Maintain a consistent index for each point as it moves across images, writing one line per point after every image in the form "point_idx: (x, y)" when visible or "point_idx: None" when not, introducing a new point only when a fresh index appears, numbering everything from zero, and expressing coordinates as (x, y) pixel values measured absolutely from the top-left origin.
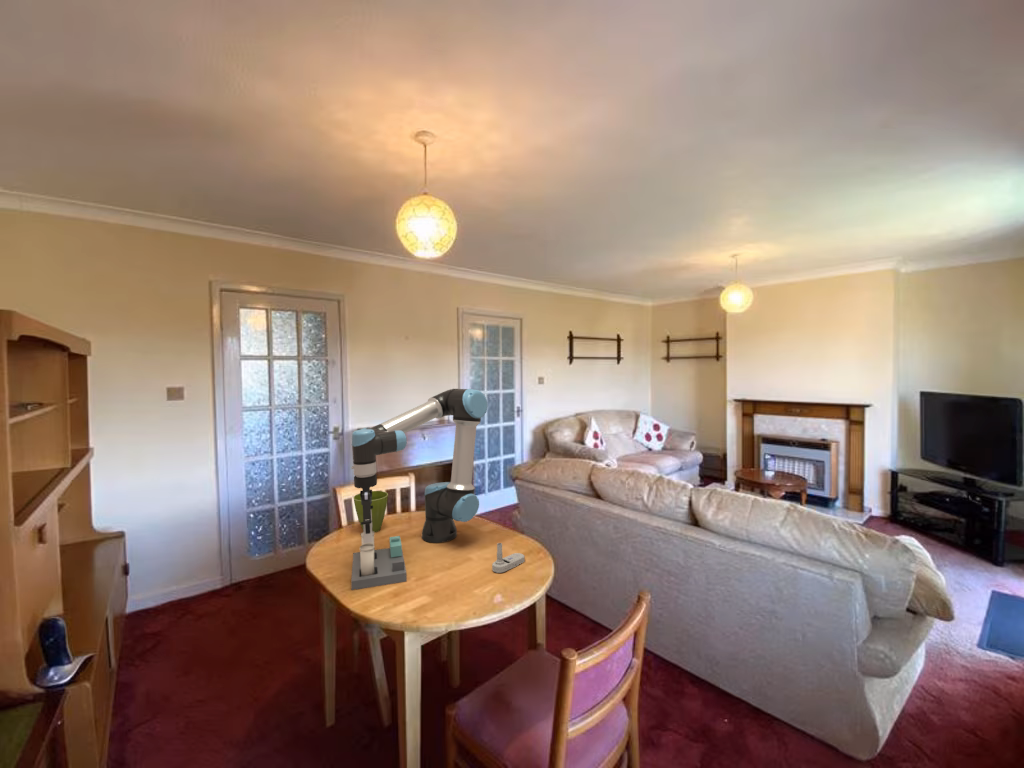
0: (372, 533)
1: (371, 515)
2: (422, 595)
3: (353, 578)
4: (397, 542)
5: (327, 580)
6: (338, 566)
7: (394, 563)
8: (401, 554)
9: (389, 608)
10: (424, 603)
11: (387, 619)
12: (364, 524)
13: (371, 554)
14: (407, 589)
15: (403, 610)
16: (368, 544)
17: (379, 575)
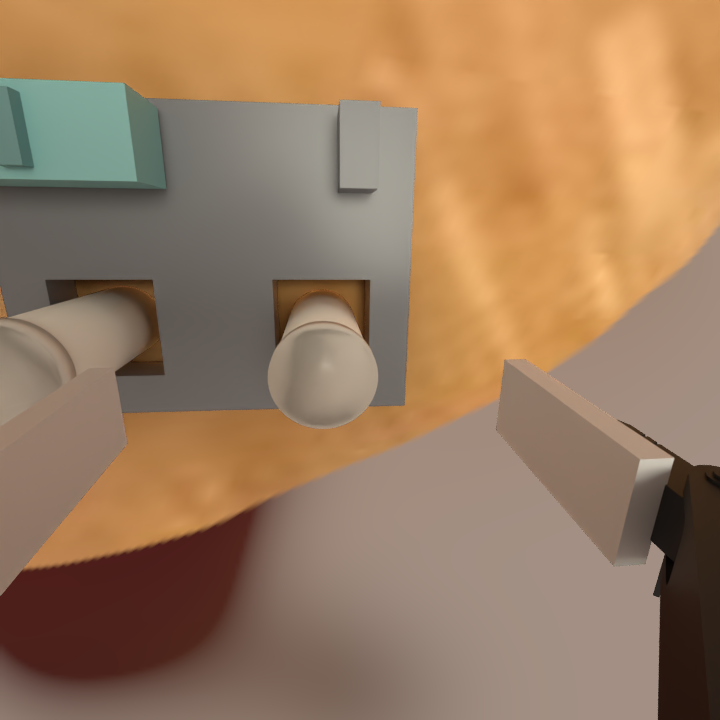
0: (20, 337)
1: (24, 437)
2: (590, 54)
3: (376, 397)
4: (47, 114)
5: (264, 490)
6: (119, 461)
7: (377, 174)
8: (154, 108)
9: (624, 231)
10: (667, 57)
11: (700, 244)
12: (643, 542)
13: (359, 333)
14: (495, 128)
15: (672, 170)
16: (285, 367)
17: (391, 270)
